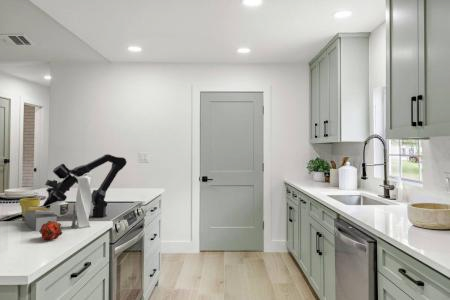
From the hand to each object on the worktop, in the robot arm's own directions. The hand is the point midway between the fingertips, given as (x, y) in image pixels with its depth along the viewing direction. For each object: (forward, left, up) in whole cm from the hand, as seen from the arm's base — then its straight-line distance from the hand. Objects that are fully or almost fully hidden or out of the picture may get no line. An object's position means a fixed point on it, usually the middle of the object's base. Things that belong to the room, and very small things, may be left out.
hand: (43, 205), depth 177 cm
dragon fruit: (-23, +29, -9) cm, 39 cm away
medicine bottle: (+5, -22, -9) cm, 24 cm away
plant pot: (+19, -16, -9) cm, 26 cm away
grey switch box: (-3, +7, -9) cm, 12 cm away
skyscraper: (-24, +4, -9) cm, 26 cm away
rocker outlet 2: (-8, +11, -2) cm, 13 cm away
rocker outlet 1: (+2, +2, -2) cm, 3 cm away
